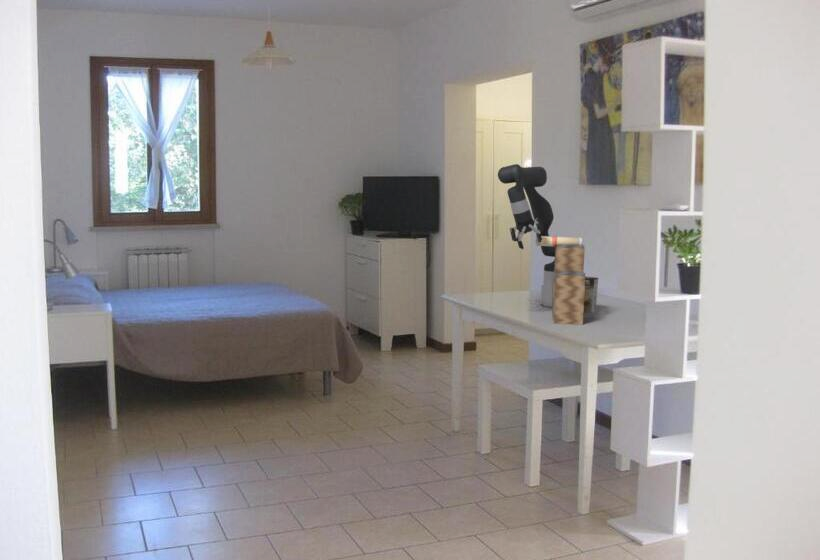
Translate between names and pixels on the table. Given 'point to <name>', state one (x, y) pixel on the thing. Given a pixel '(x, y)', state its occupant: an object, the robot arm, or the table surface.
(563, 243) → the cream long cylinder
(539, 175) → the robot arm
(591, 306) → the coffee box
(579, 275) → the stand
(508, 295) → the table surface
